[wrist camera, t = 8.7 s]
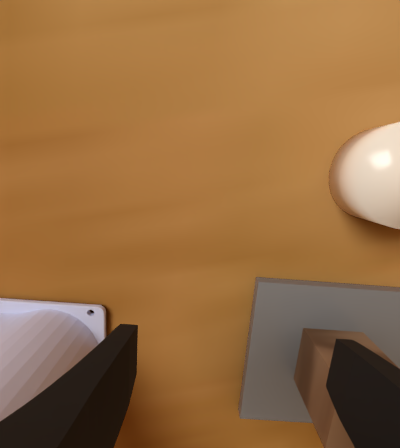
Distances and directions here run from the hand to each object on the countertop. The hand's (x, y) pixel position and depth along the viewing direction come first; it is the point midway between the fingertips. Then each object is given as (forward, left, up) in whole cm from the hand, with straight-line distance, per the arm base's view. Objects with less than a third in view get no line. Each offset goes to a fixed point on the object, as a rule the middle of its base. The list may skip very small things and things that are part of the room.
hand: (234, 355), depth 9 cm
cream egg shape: (+10, +7, -10) cm, 16 cm away
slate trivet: (+9, -7, -9) cm, 15 cm away
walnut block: (+9, -7, -9) cm, 14 cm away
